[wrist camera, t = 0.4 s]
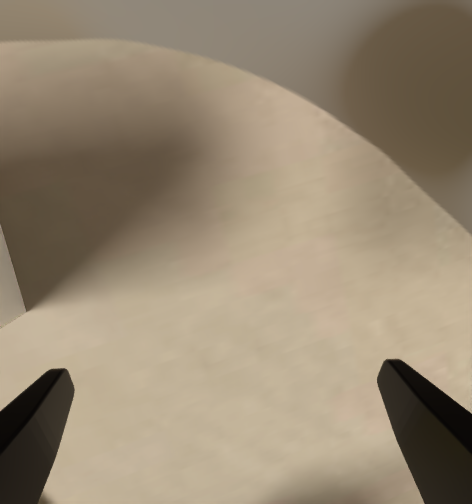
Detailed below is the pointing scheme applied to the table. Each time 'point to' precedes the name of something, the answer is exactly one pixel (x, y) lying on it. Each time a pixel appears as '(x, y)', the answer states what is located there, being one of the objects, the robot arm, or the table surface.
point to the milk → (8, 287)
